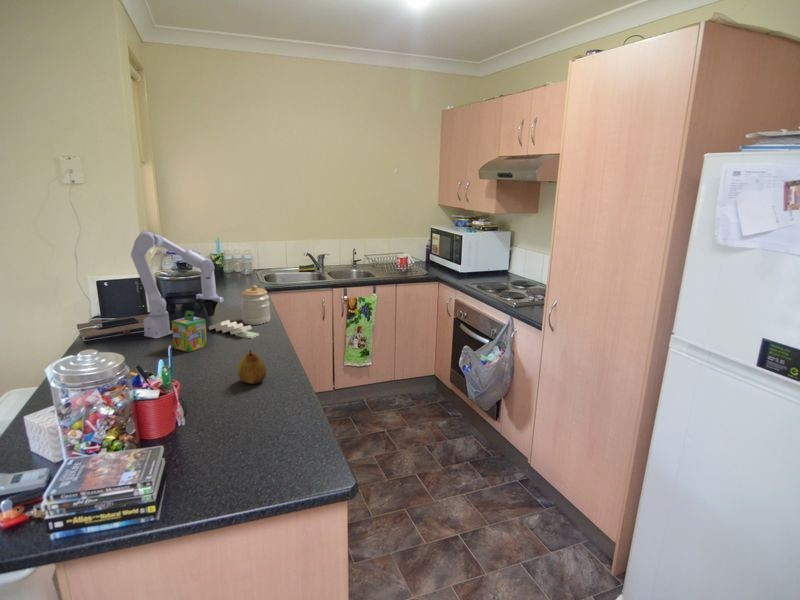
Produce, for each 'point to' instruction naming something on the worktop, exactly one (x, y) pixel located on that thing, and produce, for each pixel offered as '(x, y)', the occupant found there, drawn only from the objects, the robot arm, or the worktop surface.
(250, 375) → the fruit
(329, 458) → the worktop surface
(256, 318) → the jar
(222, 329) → the domino
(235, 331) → the domino
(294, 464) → the worktop surface
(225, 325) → the domino
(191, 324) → the chalk box
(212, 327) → the domino
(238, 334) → the domino
